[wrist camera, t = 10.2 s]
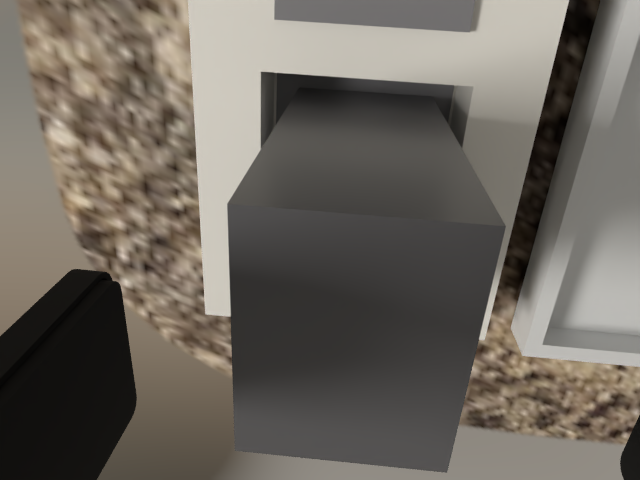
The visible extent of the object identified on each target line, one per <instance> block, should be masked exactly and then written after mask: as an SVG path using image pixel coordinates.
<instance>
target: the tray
mask: <svg viewBox="0 0 640 480" xmlns="http://www.w3.org/2000/svg"><path fill="white" fill-rule="evenodd" d="M511 330H512V332H513V334H514V337H515V339H516V342H517V344H518V346H519V349H520V351H521V354H522V356H530V357H541V358H551V359H562V360H573V361H583V362H594V363H604V364H615V365H626V366H636V367H640V0H600V4H599V8H598V11H597V15H596V19H595V22H594V26H593V30H592V33H591V37H590V40H589V44H588V48H587V51H586V55H585V59H584V62H583V66H582V70H581V73H580V77H579V81H578V84H577V88H576V92H575V95H574V99H573V102H572V106H571V110H570V113H569V117H568V121H567V124H566V128H565V132H564V135H563V139H562V143H561V146H560V150H559V154H558V157H557V161H556V164H555V168H554V172H553V175H552V179H551V183H550V186H549V190H548V194H547V197H546V201H545V205H544V208H543V212H542V215H541V219H540V223H539V226H538V230H537V234H536V237H535V241H534V245H533V248H532V252H531V256H530V259H529V263H528V267H527V270H526V274H525V277H524V281H523V285H522V288H521V292H520V296H519V299H518V303H517V307H516V310H515V314H514V318H513V321H512V325H511Z"/></svg>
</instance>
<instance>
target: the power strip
mask: <svg viewBox="0 0 640 480" xmlns="http://www.w3.org/2000/svg"><path fill="white" fill-rule="evenodd" d="M568 3H569V0H188V12H189V30H190V48H191V65H192V83H193V101H194V119H195V137H196V155H197V173H198V191H199V208H200V226H201V244H202V262H203V280H204V298H205V314H208V315H219V316H230V317H231V309H230V277H229V246H228V214H227V203H228V202H229V200H230V199H231V197H232V195H233V194H234V192H235V190H236V189H237V187H238V186H239V184H240V182H241V181H242V179H243V177H244V176H245V174H246V173H247V171H248V169H249V168H250V166H251V165H252V163H253V161H254V160H255V158H256V156H257V155H258V153H259V152H260V150H261V148H262V147H263V145H264V144H265V142H266V140H267V139H268V137H269V135H270V134H271V132H272V131H273V129H274V127H275V126H276V124H277V123H278V121H279V119H280V118H281V116H282V114H283V113H284V111H285V110H286V108H287V106H288V105H289V103H290V101H291V100H292V98H293V97H294V95H295V93H296V92H297V90H298V89H299V87H301V88H316V89H330V90H345V91H359V92H374V93H388V94H402V95H417V96H431V97H433V98H434V100H435V102H436V104H437V106H438V107H439V109H440V111H441V113H442V114H443V116H444V118H445V120H446V121H447V123H448V125H449V127H450V128H451V130H452V132H453V134H454V136H455V137H456V139H457V141H458V143H459V144H460V146H461V148H462V150H463V151H464V153H465V155H466V157H467V158H468V160H469V162H470V164H471V165H472V167H473V169H474V171H475V173H476V174H477V176H478V178H479V180H480V181H481V183H482V185H483V187H484V188H485V190H486V192H487V194H488V195H489V197H490V199H491V201H492V203H493V204H494V206H495V208H496V210H497V211H498V213H499V215H500V217H501V218H502V220H503V222H504V224H505V225H506V228H505V233H504V237H503V241H502V245H501V249H500V253H499V258H498V262H497V266H496V270H495V274H494V279H493V283H492V287H491V291H490V295H489V299H488V304H487V308H486V312H485V316H484V320H483V324H482V329H481V333H480V337H479V340H485V336H486V332H487V328H488V324H489V320H490V316H491V312H492V308H493V304H494V300H495V296H496V292H497V288H498V284H499V280H500V276H501V272H502V268H503V264H504V260H505V256H506V252H507V248H508V244H509V240H510V236H511V232H512V228H513V224H514V220H515V216H516V212H517V208H518V204H519V200H520V196H521V192H522V188H523V184H524V180H525V176H526V171H527V167H528V163H529V159H530V155H531V151H532V147H533V143H534V139H535V135H536V131H537V127H538V123H539V119H540V115H541V111H542V107H543V103H544V99H545V95H546V91H547V87H548V83H549V79H550V75H551V71H552V67H553V63H554V59H555V55H556V51H557V47H558V43H559V39H560V35H561V31H562V27H563V23H564V19H565V15H566V11H567V7H568Z"/></svg>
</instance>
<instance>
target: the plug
mask: <svg viewBox="0 0 640 480" xmlns="http://www.w3.org/2000/svg"><path fill="white" fill-rule="evenodd" d="M227 214H228V246H229V277H230V309H231V340H232V372H233V402H234V435H235V451H243V452H253V453H263V454H273V455H283V456H292V457H301V458H311V459H320V460H331V461H341V462H350V463H360V464H370V465H379V466H388V467H398V468H408V469H417V470H427V471H437V472H447V470H448V466H449V462H450V458H451V454H452V449H453V445H454V441H455V437H456V433H457V429H458V424H459V420H460V416H461V412H462V408H463V404H464V399H465V395H466V391H467V387H468V383H469V379H470V374H471V370H472V366H473V362H474V358H475V354H476V349H477V345H478V341H479V337H480V333H481V329H482V324H483V320H484V316H485V312H486V308H487V304H488V299H489V295H490V291H491V287H492V283H493V279H494V274H495V270H496V266H497V262H498V258H499V253H500V249H501V245H502V241H503V237H504V233H505V228H506V225H505V224H504V222H503V220H502V218H501V217H500V215H499V213H498V211H497V210H496V208H495V206H494V204H493V203H492V201H491V199H490V197H489V195H488V194H487V192H486V190H485V188H484V187H483V185H482V183H481V181H480V180H479V178H478V176H477V174H476V173H475V171H474V169H473V167H472V165H471V164H470V162H469V160H468V158H467V157H466V155H465V153H464V151H463V150H462V148H461V146H460V144H459V143H458V141H457V139H456V137H455V136H454V134H453V132H452V130H451V128H450V127H449V125H448V123H447V121H446V120H445V118H444V116H443V114H442V113H441V111H440V109H439V107H438V106H437V104H436V102H435V100H434V98H433V97H431V96H417V95H402V94H388V93H374V92H359V91H345V90H330V89H316V88H301V87H299V89H298V90H297V92H296V93H295V95H294V97H293V98H292V100H291V101H290V103H289V105H288V106H287V108H286V110H285V111H284V113H283V114H282V116H281V118H280V119H279V121H278V123H277V124H276V126H275V127H274V129H273V131H272V132H271V134H270V135H269V137H268V139H267V140H266V142H265V144H264V145H263V147H262V148H261V150H260V152H259V153H258V155H257V156H256V158H255V160H254V161H253V163H252V165H251V166H250V168H249V169H248V171H247V173H246V174H245V176H244V177H243V179H242V181H241V182H240V184H239V186H238V187H237V189H236V190H235V192H234V194H233V195H232V197H231V199H230V200H229V202H228V203H227Z"/></svg>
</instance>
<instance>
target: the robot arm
mask: <svg viewBox="0 0 640 480" xmlns="http://www.w3.org/2000/svg"><path fill="white" fill-rule="evenodd" d="M136 398H137V397H136V389H135V382H134V375H133V368H132V361H131V354H130V347H129V340H128V333H127V326H126V319H125V312H124V305H123V298H122V291H121V286H120V284H119V283H118V282H116V281H112V278H111V276H110V274H108V273H107V272H100V271H90V270H81V269H74V270H71V271H70V272H68V273H67V274H66V275H65V276H64V277H63V278H62V279H61V280H60V281H59V282H58V283H57V284H55V286H53V287H52V288H51V289H50V290H49V291H48V292H47V293H46V294H45V295H44V296H43V297H42V298H41V299H39V300H38V301H37V302H36V303H35V304H34V305H33V306H32V307H31V308H30V309H29V310H28V311H27V312H26V313H25V314H24V315H22V316H21V318H19V319H18V320H17V321H16V322H15V323H14V324H13V325H12V326H11V327H10V328H9V329H8V330H7V331H6V332H4V333H3V334H2V335H1V336H0V480H97V478H98V476H99V475H100V473H101V471H102V469H103V468H104V466H105V464H106V462H107V461H108V459H109V457H110V455H111V454H112V452H113V450H114V448H115V446H116V445H117V443H118V441H119V439H120V438H121V436H122V434H123V432H124V431H125V429H126V427H127V425H128V424H129V422H130V420H131V418H132V416H133V414H134V411H135V407H136ZM620 462H621V463H620V464H621V472H622V476H623V478H624V480H640V415H639V418H638V420H637V422H636V424H635V426H634V429H633V431H632V433H631V435H630V437H629V439H628V442H627V444H626V446H625V448H624V451H623V452H622V456H621V461H620Z"/></svg>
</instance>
